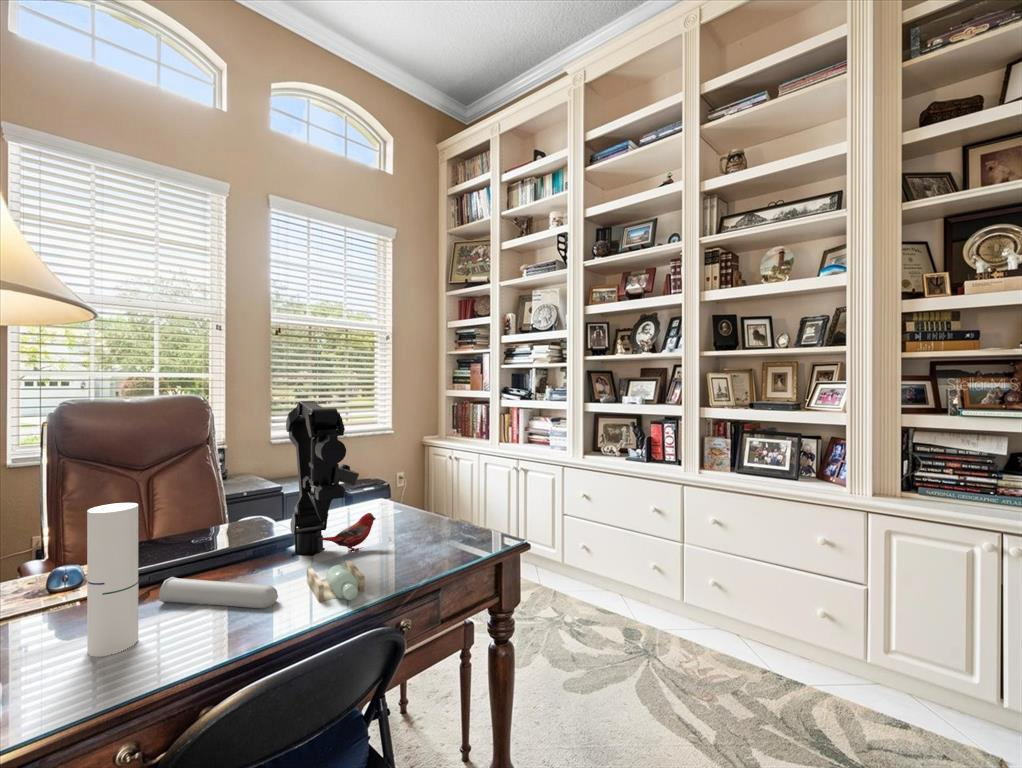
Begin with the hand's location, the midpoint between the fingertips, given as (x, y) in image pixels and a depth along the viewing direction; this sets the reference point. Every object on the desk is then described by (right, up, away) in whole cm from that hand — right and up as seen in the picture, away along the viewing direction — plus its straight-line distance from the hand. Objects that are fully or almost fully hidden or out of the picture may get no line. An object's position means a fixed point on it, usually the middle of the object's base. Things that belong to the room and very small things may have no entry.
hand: (323, 520), depth 123 cm
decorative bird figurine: (+2, -13, +14) cm, 19 cm away
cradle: (+6, -13, -9) cm, 17 cm away
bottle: (+7, -10, -9) cm, 15 cm away
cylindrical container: (-25, -13, -34) cm, 44 cm away
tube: (-15, -14, -17) cm, 27 cm away
